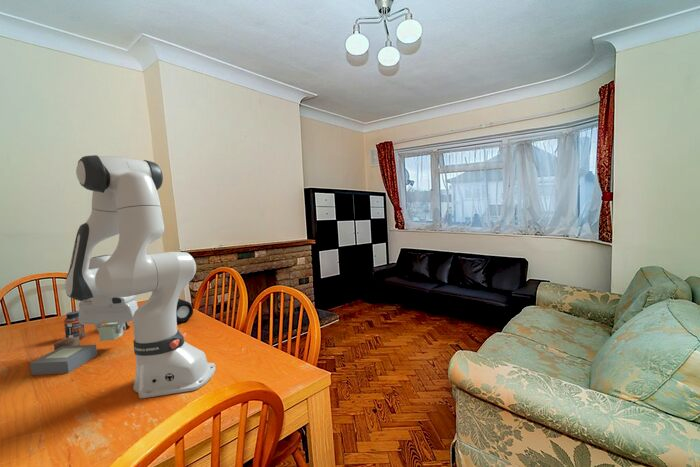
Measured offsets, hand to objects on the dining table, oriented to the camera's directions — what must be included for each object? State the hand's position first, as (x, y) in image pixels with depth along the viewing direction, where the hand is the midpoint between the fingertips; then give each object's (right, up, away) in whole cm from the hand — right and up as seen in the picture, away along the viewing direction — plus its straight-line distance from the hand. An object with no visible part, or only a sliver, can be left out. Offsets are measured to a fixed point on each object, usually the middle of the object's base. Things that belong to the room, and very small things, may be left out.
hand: (111, 333), depth 118 cm
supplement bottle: (-24, -6, +11) cm, 27 cm away
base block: (-8, -7, -10) cm, 15 cm away
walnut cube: (-15, -7, -1) cm, 17 cm away
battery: (-11, -5, +22) cm, 25 cm away
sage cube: (0, -2, 0) cm, 2 cm away
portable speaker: (+5, -3, +32) cm, 33 cm away
